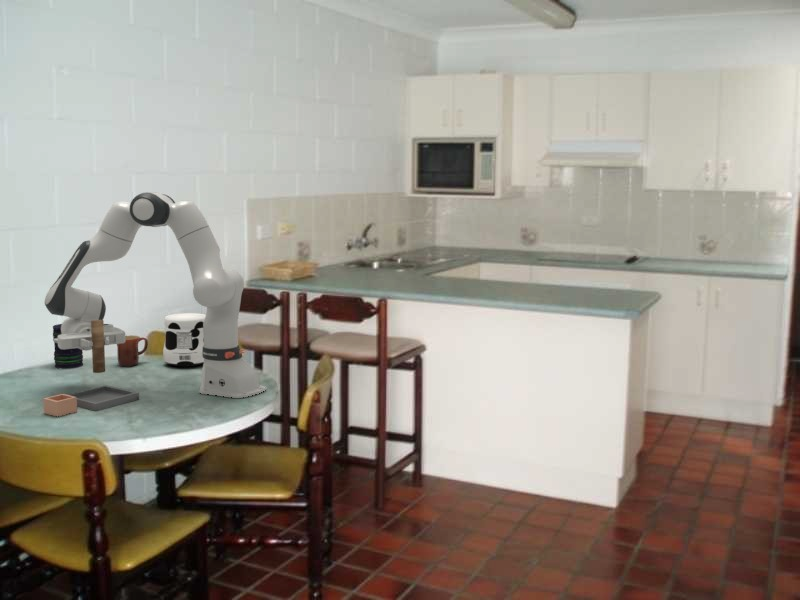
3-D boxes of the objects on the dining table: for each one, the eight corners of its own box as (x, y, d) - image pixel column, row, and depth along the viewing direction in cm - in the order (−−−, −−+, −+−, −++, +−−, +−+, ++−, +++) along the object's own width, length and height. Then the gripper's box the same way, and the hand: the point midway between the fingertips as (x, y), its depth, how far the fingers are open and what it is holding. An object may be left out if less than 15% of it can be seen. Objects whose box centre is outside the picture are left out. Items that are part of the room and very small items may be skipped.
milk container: (194, 357, 330) (193, 310, 327) (220, 364, 318) (219, 316, 315) (154, 364, 317) (152, 316, 315) (179, 371, 305) (178, 322, 303)
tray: (139, 399, 268) (138, 392, 268) (95, 410, 255) (95, 403, 255) (106, 391, 277) (105, 385, 277) (62, 402, 264) (62, 395, 264)
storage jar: (60, 370, 307) (58, 329, 304) (50, 365, 314) (48, 325, 311) (87, 366, 313) (85, 325, 311) (77, 361, 320) (75, 322, 318)
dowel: (107, 371, 265) (105, 320, 263) (97, 373, 262) (95, 322, 260) (100, 369, 267) (98, 319, 265) (90, 371, 264) (88, 320, 262)
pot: (77, 411, 254) (76, 397, 254) (57, 416, 249) (56, 401, 248) (63, 408, 258) (62, 393, 257) (43, 413, 252) (43, 398, 252)
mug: (121, 368, 309) (120, 340, 308) (112, 364, 316) (111, 337, 314) (153, 364, 317) (152, 337, 315) (143, 360, 324) (142, 333, 322)
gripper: (51, 329, 267) (63, 336, 256) (116, 323, 279) (131, 330, 268) (52, 349, 268) (64, 357, 257) (117, 342, 280) (131, 350, 269)
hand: (99, 343), depth 263 cm, fingers closed on dowel, 4 cm apart
